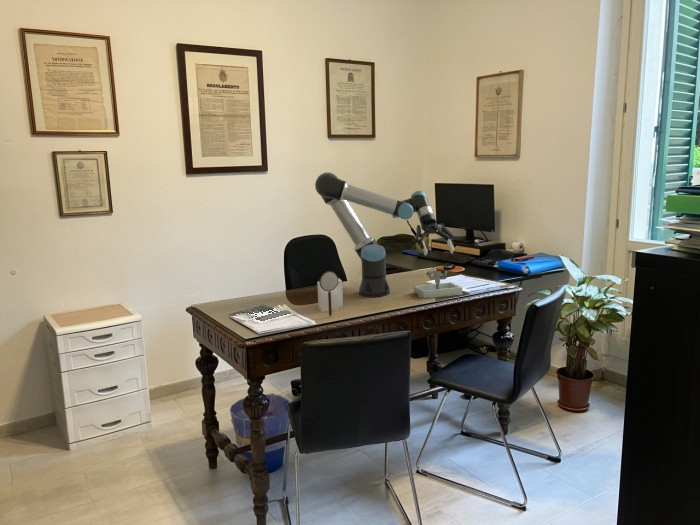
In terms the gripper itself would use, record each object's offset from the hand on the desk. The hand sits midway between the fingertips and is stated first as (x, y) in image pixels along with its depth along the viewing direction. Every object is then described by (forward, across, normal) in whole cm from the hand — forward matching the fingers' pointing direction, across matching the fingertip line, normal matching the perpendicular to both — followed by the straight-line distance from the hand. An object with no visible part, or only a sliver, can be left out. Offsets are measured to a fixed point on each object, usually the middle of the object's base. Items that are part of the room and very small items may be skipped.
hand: (439, 252), depth 264 cm
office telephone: (+16, +86, -15) cm, 89 cm away
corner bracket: (+15, +54, -14) cm, 58 cm away
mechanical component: (+12, 0, -16) cm, 20 cm away
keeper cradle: (+13, 0, -16) cm, 21 cm away
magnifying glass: (+26, +58, -4) cm, 64 cm away
